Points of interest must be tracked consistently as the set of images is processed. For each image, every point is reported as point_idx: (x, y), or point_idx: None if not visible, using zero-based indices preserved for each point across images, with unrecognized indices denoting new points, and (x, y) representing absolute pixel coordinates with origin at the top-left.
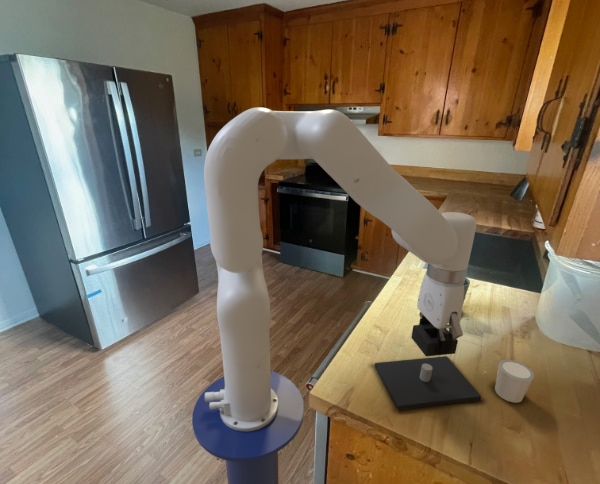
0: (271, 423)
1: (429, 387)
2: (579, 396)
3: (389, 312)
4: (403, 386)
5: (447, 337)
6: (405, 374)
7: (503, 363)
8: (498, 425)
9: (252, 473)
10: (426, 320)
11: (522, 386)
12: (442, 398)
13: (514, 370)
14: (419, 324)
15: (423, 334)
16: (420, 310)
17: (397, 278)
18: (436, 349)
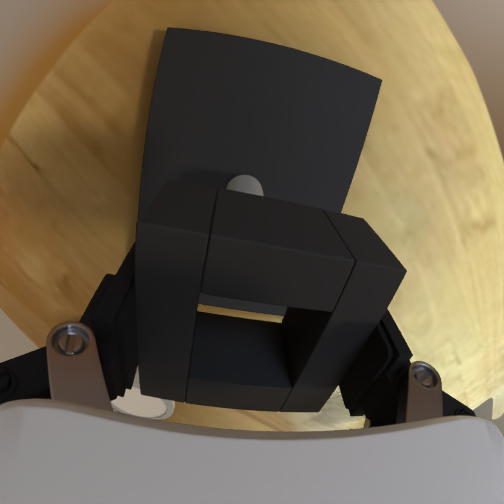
0: None
1: (202, 178)
2: None
3: (491, 289)
4: (237, 92)
5: (27, 369)
6: (288, 140)
7: (161, 400)
8: (71, 263)
9: None
10: (370, 376)
11: None
12: (148, 187)
13: (134, 399)
14: (388, 317)
15: (270, 268)
16: (445, 433)
17: None
18: (134, 257)
